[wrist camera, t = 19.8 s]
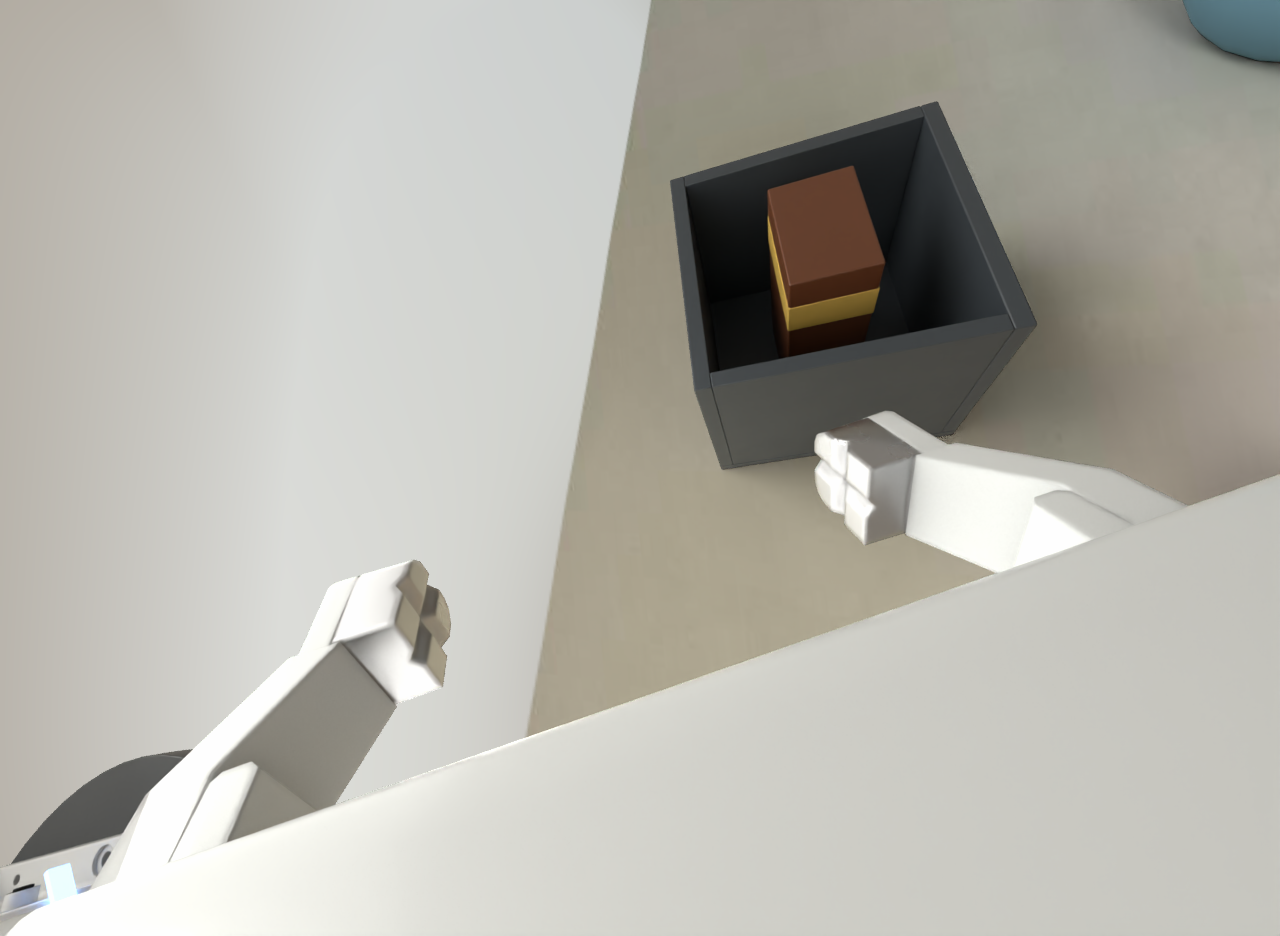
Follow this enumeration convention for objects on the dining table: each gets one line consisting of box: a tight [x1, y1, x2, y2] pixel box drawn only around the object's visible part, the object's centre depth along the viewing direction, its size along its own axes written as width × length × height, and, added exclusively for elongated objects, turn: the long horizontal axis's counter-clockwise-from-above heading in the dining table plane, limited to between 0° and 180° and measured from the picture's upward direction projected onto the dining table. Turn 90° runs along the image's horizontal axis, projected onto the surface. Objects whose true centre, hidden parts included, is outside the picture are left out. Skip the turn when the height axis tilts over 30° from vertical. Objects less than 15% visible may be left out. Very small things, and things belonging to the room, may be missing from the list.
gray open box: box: [670, 101, 1037, 469], centre depth 28 cm, size 14×14×11 cm
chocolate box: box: [767, 166, 885, 359], centre depth 27 cm, size 4×6×11 cm
